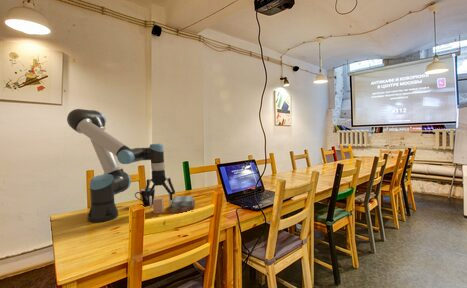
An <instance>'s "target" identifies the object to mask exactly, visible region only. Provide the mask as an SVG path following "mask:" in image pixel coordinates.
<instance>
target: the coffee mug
mask: <svg viewBox="0 0 467 288" xmlns="http://www.w3.org/2000/svg"><path fill="white" fill-rule="evenodd" d="M151 188H152V187H149V188H148V192H147V194H148V193H149V191H150V190H151ZM145 189H146V187H145V188H141V189H140V191H138V192H136V193H134V196H135V198H136V199H137V200H139V201H141V202H142V205H143V204H144V205H145V207H150V202H148V198H147V196H144V193H145ZM155 191H156V188H155V187H154V189H153V191H152V193H151V195H150V196H152V206H153V199H154V198H155V193H156V192H155ZM138 194H140V195H141V198H139V197H137V195H138ZM144 205H143V206H144Z"/></svg>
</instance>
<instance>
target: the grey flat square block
mask: <svg viewBox="0 0 467 288" xmlns="http://www.w3.org/2000/svg"><path fill="white" fill-rule="evenodd" d="M195 207H196V200H195V199H194V195H179V196H177V195H176V196H174V197H173V199H172V200H171V206H169V213H170V212H171V213H186V212H185V211H190V210H193V209H194V210H195Z"/></svg>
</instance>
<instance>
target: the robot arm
mask: <svg viewBox="0 0 467 288" xmlns="http://www.w3.org/2000/svg"><path fill="white" fill-rule="evenodd" d="M66 121H67V123H68V126H69V127H70V128H71V129H72V130H73V131H75V132H77V134H83V135H84V136H86V137H87V138H89V140H90V142H91V143H92V147H93V148H94V151H95V154H96V156H97V159H98V161H99V163H100V165H101V167H102V170H103V174H100V175H95V176H93V177H91V178H90V180H89V195H90V207H89V211H88V214H87V221H88V222H90V223H103V222H108V221H111V220H114V219H116V218H118V217H119V211H118V207H117V206H116V203H115V195H118V194H120V193H123V192H125V191H127V190H128V189H129V188H130V186H131V183H132V178H131V176H130V174H129V173H127V172H125V170H124V169H123V167H121V166H119V164H118V163H120V164H122V165H128V164H132V163H136V162H137V163H138V162H141V161H150V166H151V167H150V168H151V178H150V179H149V178H148V179H146V186H145V188H146V189H145V193H144V196H147V198H148V202H150V206H149V209H150V208H151V209H153V208H152V207H153V205H152V196H150V195H151V193H152V191H153V189H154V188H155V187H156V186H157V187H158V186H162V187H164V189H165V190H166V192H167V193H168V206H169V207H170V206H171V204H172V200H173V198H174V197H173V195H175V194H176V190H175V187H174V185H173V182H172V178H171V177H166V170H165V159H164V158H165V156H164V145H163V144H162V143H152V144H151V143H150V144H149V147H134V148H131V147H128V146H127V145H126V144H124V143H123V142H121V141H119V140H118V139H117V138H115V137H114V136H112V135H111V134H109V133H107V132H106V131H105V130H106V123H107V120H106V117H105V115H104V114H103V113H102V112H100V111H98V110H95V109H83V108H76V109H73V110H71V111H70V112H68V115H67V116H66ZM151 182H152V183H153V184H152V186H151V187H150V185H151V184H150V183H151ZM166 182H167V183H168V185H167V183H166ZM168 186H169V187H170V188H169V187H168ZM148 188H151V190H150V191H149V193H148V194H147V192H148Z"/></svg>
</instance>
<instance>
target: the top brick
mask: <svg viewBox="0 0 467 288" xmlns="http://www.w3.org/2000/svg"><path fill="white" fill-rule="evenodd" d="M164 206H165V205H164V197H163V196H162V197H161V196H160V197H159V196H156V197H155V196H154V199H153V205H152V207H153V208H152V209H153V211H152V213H153V214H162V213H163V212H164V209H165V208H164Z"/></svg>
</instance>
